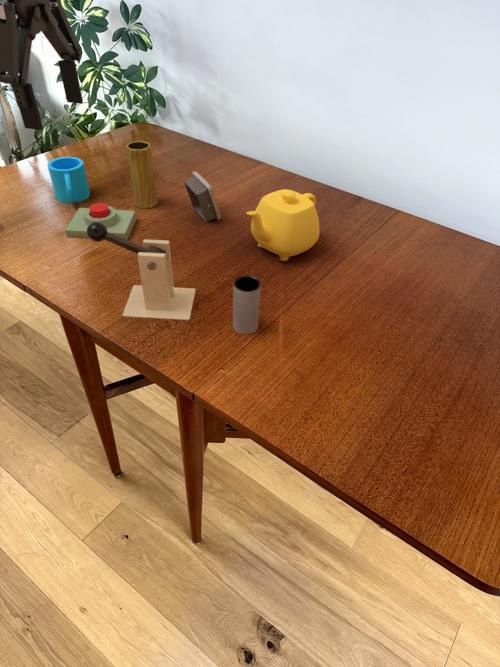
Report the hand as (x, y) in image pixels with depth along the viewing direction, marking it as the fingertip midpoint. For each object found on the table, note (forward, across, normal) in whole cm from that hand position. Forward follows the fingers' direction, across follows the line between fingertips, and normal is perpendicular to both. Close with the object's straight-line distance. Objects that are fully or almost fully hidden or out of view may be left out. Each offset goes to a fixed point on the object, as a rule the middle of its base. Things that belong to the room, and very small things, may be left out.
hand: (56, 114), depth 79 cm
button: (+24, +10, +2) cm, 26 cm away
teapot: (+28, +13, -38) cm, 49 cm away
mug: (+28, +21, +15) cm, 38 cm away
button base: (+28, +10, +2) cm, 30 cm away
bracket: (+28, -12, -20) cm, 37 cm away
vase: (+28, +24, -3) cm, 37 cm away
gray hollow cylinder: (+28, -15, -37) cm, 49 cm away
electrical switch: (+28, +23, -18) cm, 41 cm away
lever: (+16, -13, -15) cm, 26 cm away
